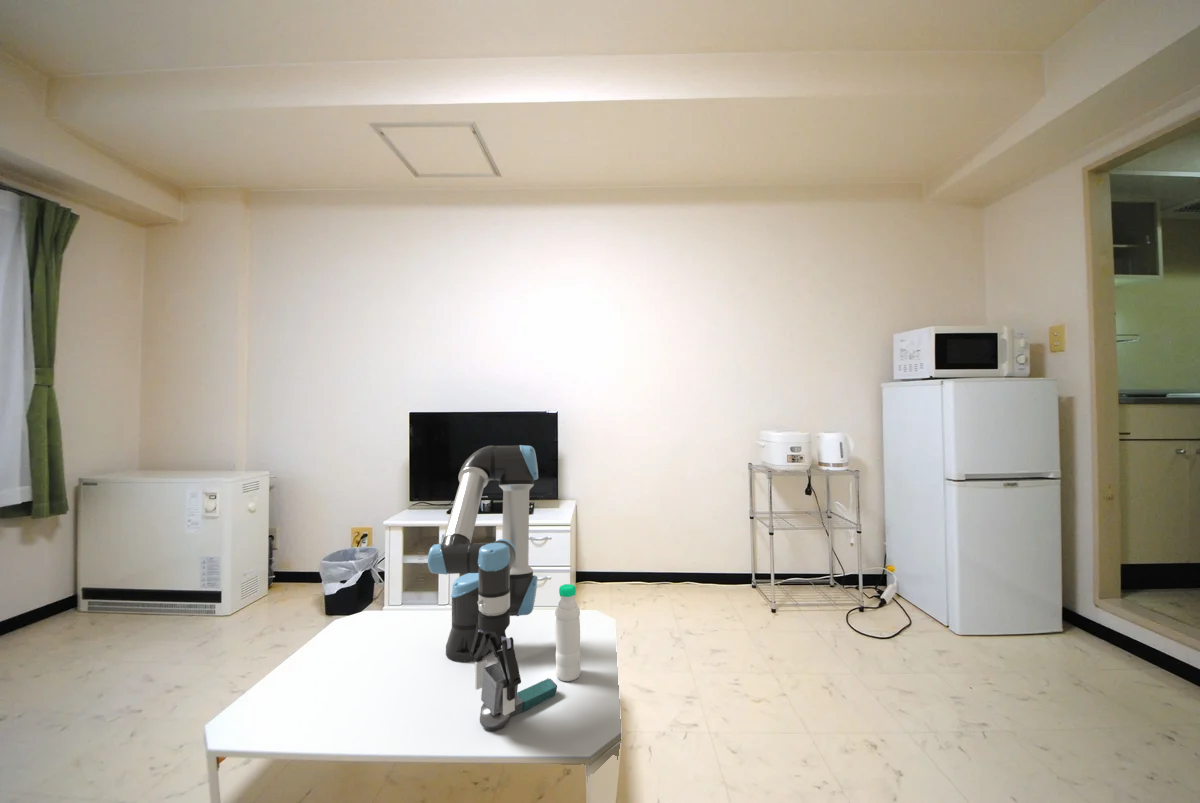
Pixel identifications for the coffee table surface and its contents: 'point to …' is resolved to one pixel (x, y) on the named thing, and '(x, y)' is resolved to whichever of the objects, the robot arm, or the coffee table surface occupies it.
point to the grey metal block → (494, 689)
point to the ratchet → (519, 704)
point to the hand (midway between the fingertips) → (494, 699)
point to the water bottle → (567, 635)
